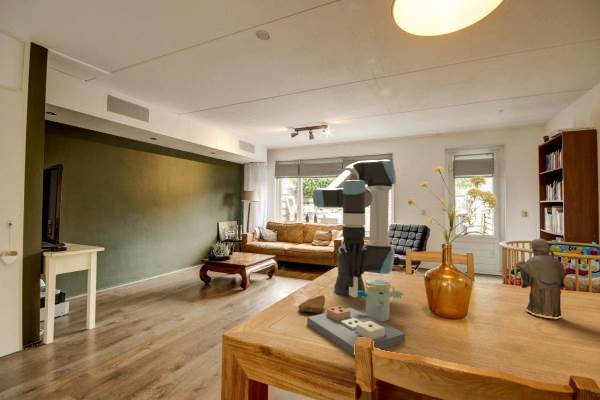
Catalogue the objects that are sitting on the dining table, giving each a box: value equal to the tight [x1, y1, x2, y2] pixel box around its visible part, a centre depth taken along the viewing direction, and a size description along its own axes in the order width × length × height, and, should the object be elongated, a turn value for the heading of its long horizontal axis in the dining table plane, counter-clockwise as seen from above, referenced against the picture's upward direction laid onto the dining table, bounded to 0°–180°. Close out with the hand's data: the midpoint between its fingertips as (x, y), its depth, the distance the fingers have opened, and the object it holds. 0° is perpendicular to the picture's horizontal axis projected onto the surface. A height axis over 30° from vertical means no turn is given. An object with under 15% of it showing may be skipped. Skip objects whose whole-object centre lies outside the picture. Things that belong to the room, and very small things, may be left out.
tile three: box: [326, 305, 350, 322], centre depth 104 cm, size 6×6×3 cm
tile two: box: [341, 318, 363, 331], centre depth 97 cm, size 6×6×3 cm
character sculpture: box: [356, 278, 404, 322], centre depth 110 cm, size 20×12×13 cm, turn 92°
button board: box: [306, 307, 406, 357], centre depth 97 cm, size 20×26×2 cm
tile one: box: [357, 321, 385, 340], centre depth 90 cm, size 6×6×3 cm
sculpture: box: [517, 238, 568, 317], centre depth 116 cm, size 16×11×30 cm
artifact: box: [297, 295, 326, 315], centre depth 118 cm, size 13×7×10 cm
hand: (353, 295), depth 98 cm, fingers closed
